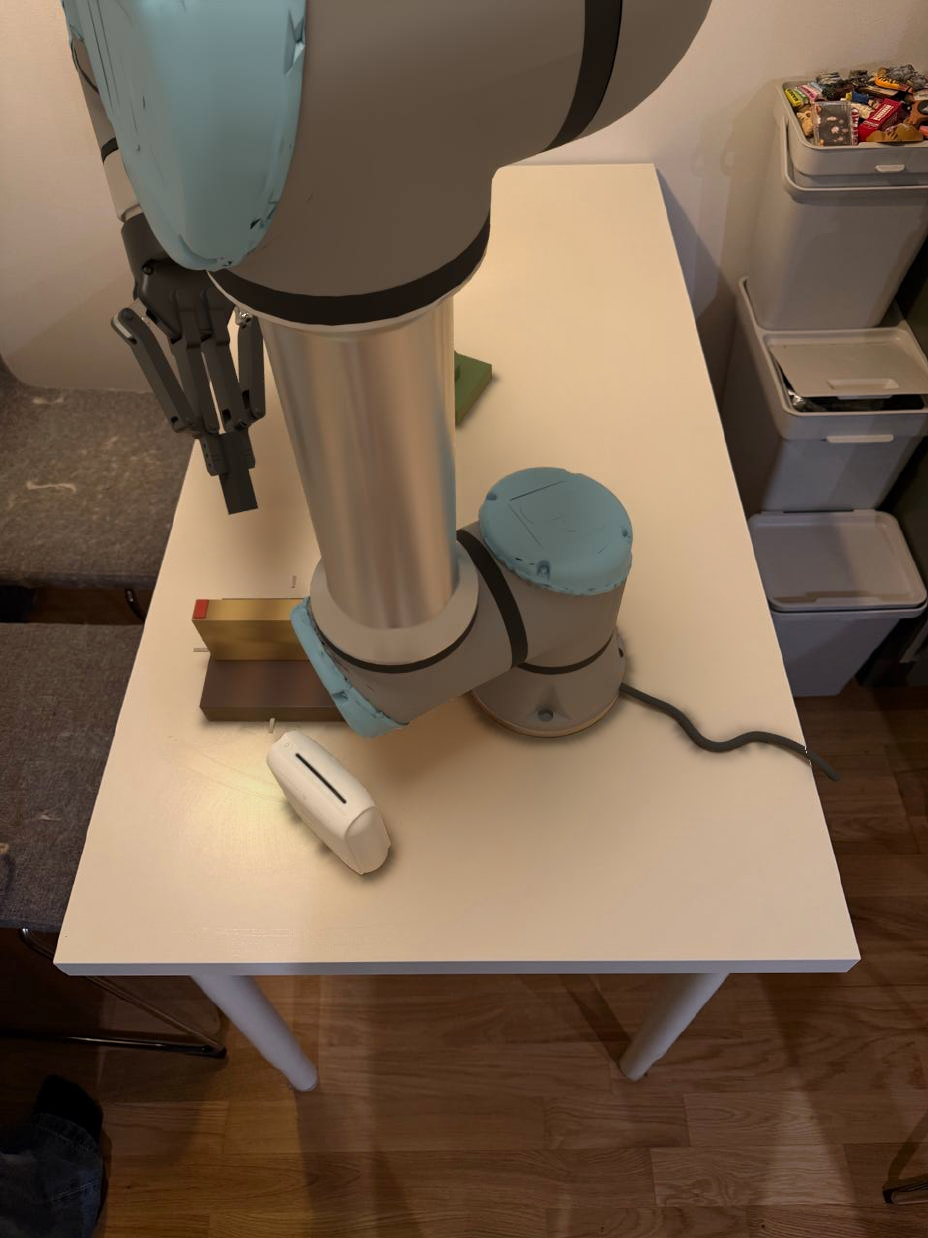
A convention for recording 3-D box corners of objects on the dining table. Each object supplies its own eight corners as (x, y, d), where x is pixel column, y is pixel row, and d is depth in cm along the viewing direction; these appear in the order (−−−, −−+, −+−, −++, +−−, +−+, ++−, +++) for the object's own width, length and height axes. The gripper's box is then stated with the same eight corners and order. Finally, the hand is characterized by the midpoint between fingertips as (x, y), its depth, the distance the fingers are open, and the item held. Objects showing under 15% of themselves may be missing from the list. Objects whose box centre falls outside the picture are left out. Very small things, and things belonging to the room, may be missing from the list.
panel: (383, 593, 86) (380, 575, 84) (370, 747, 77) (366, 732, 74) (218, 593, 87) (209, 575, 84) (186, 746, 78) (175, 732, 75)
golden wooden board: (352, 640, 80) (341, 597, 74) (350, 660, 79) (338, 618, 73) (217, 640, 80) (195, 597, 74) (213, 660, 79) (190, 618, 73)
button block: (492, 378, 103) (492, 352, 100) (458, 425, 99) (456, 399, 96) (407, 350, 107) (404, 323, 103) (371, 394, 102) (367, 368, 99)
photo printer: (284, 804, 74) (250, 747, 64) (321, 771, 76) (293, 710, 66) (362, 885, 70) (339, 839, 60) (399, 848, 72) (383, 797, 62)
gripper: (223, 235, 73) (289, 501, 78) (70, 234, 65) (152, 531, 70) (262, 203, 68) (331, 492, 72) (99, 197, 60) (188, 523, 64)
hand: (243, 511), depth 71 cm, fingers closed
